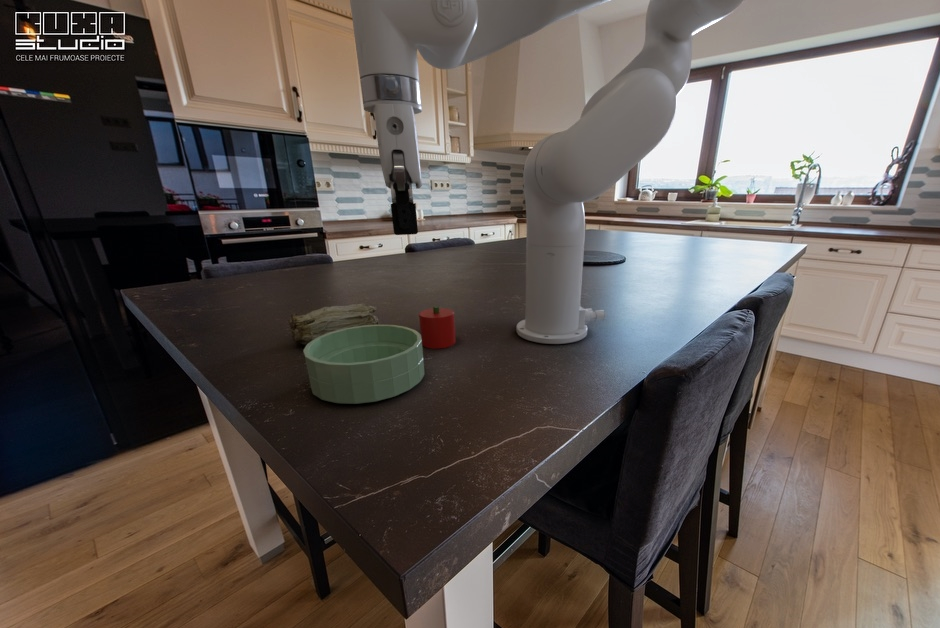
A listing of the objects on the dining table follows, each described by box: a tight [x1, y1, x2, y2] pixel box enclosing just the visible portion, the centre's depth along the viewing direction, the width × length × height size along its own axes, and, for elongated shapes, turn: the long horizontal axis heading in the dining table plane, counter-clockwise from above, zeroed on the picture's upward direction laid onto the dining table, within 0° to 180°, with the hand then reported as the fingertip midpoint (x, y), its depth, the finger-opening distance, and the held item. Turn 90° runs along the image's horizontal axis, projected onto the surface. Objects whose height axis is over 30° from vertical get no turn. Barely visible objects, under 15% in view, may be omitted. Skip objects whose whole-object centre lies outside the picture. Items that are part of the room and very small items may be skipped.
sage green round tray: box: [302, 324, 426, 405], centre depth 52 cm, size 14×14×6 cm
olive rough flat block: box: [288, 302, 381, 346], centre depth 67 cm, size 14×10×5 cm, turn 129°
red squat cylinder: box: [418, 305, 456, 350], centre depth 65 cm, size 6×6×6 cm
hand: (405, 231), depth 59 cm, fingers open, 9 cm apart
